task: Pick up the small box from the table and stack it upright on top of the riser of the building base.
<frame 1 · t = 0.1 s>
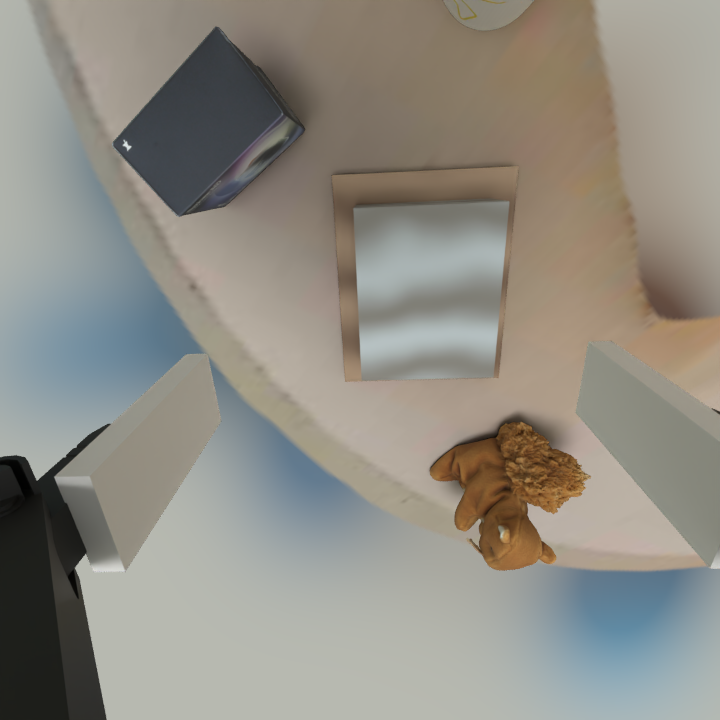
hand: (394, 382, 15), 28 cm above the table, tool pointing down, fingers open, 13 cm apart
small box: (241, 143, 37), on the table
stuffed squirrel: (494, 454, 49), on the table
building base: (420, 282, 41), on the table
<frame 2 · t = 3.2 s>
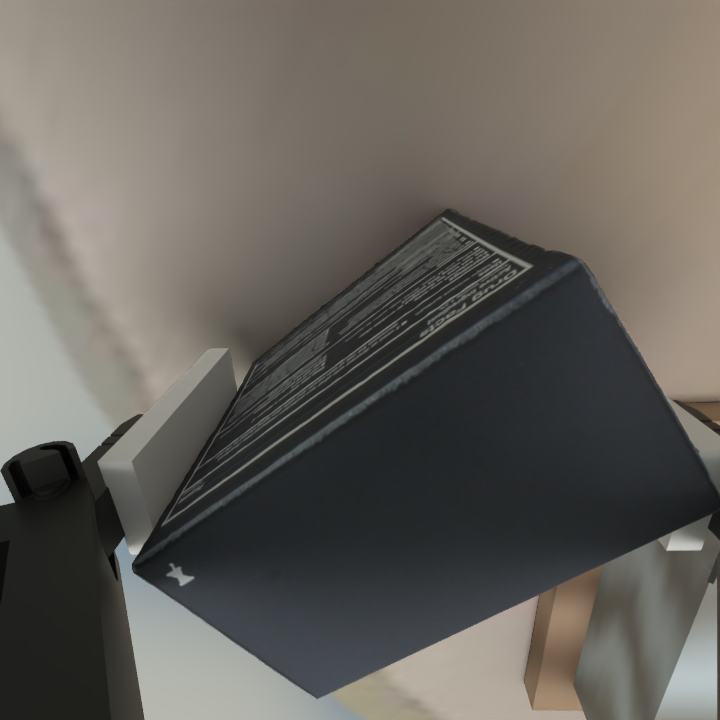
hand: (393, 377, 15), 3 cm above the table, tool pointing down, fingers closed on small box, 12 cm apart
small box: (390, 346, 18), on the table, touching gripper
building base: (699, 567, 22), on the table
when the fingers open (11 cm above the table, at t = 9.1 s): small box drops 1 cm, resting on building base.
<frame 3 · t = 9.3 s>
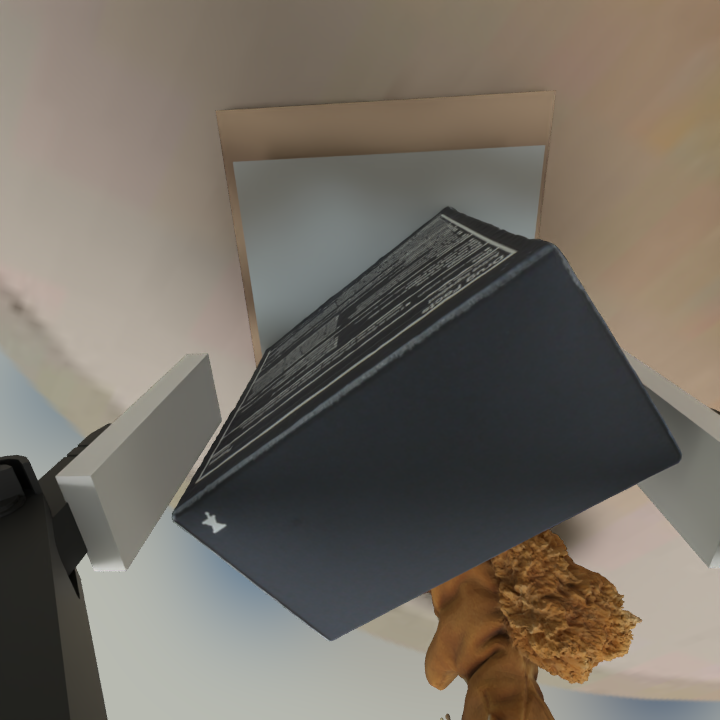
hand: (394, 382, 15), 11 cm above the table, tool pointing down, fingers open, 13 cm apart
small box: (393, 335, 19), point 6 cm above the table, touching building base
stuffed squirrel: (485, 551, 33), on the table
building base: (386, 299, 25), on the table
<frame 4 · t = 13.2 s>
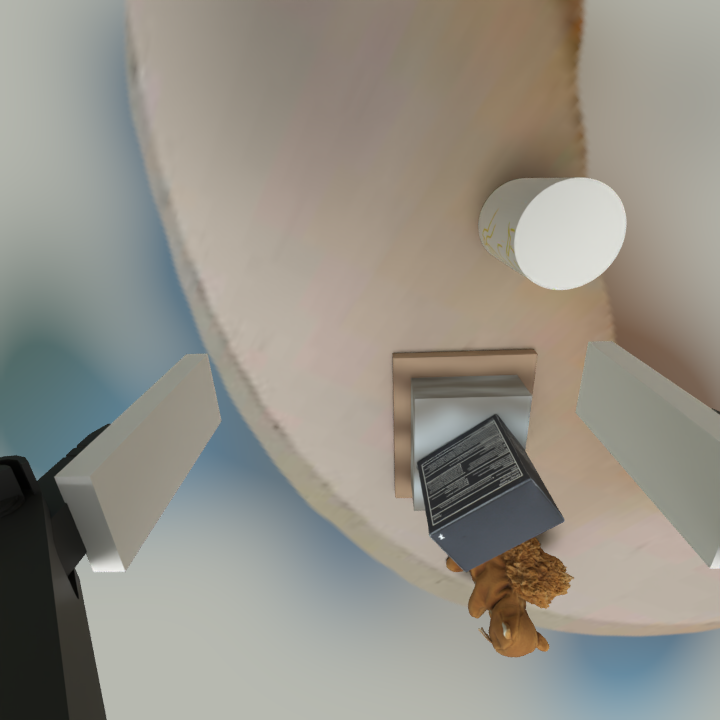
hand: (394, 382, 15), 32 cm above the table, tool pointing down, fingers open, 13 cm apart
cup: (518, 221, 43), on the table
small box: (470, 456, 46), point 6 cm above the table, touching building base
stuffed squirrel: (498, 547, 60), on the table
building base: (458, 425, 52), on the table
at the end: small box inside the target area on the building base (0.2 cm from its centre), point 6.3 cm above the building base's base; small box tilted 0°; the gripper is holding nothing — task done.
